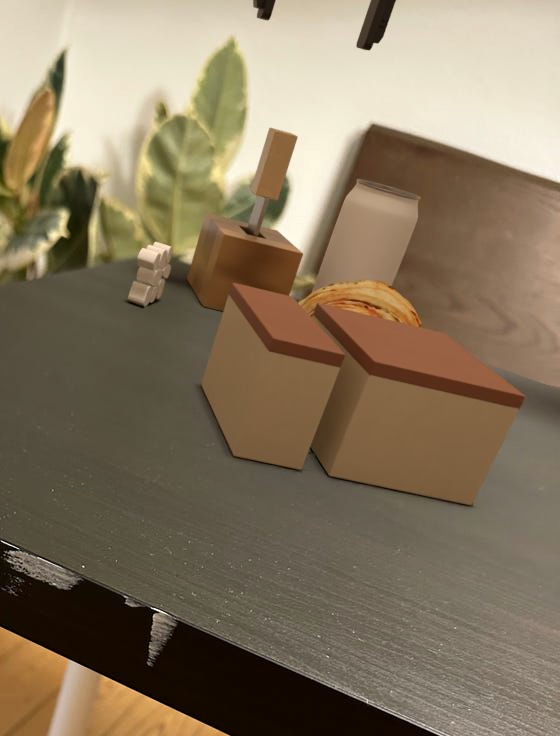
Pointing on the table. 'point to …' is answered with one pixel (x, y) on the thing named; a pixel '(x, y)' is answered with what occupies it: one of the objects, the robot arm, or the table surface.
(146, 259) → the marshmallow
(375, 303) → the croissant
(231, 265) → the knife block
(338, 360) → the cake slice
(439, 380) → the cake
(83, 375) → the table surface
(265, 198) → the knife
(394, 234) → the can
